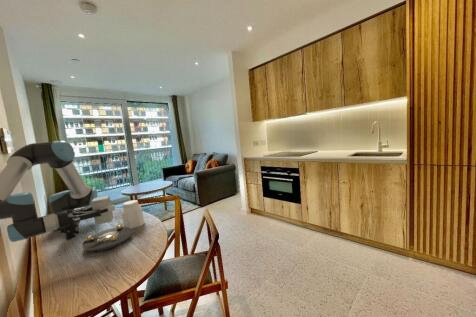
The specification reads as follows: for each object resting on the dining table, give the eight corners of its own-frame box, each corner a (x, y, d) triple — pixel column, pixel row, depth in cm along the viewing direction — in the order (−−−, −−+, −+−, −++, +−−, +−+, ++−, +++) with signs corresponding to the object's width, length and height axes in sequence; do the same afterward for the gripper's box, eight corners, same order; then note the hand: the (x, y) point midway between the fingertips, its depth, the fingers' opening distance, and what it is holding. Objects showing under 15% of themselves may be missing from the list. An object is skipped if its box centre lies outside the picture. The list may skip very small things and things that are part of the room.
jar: (124, 230, 125) (120, 206, 123) (123, 225, 133) (119, 202, 131) (145, 224, 131) (141, 201, 129) (143, 220, 139) (139, 198, 137)
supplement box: (94, 225, 105) (90, 201, 104) (98, 220, 112) (93, 197, 110) (111, 222, 108) (107, 198, 107) (113, 217, 115) (109, 194, 113)
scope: (76, 210, 128) (74, 214, 120) (81, 231, 130) (79, 237, 122) (59, 214, 124) (56, 219, 116) (64, 236, 126) (61, 242, 117)
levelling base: (91, 238, 118) (90, 229, 118) (134, 229, 125) (133, 220, 125) (76, 259, 98) (74, 248, 97) (128, 246, 105) (127, 236, 104)
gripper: (57, 223, 105) (108, 208, 121) (61, 235, 89) (119, 216, 105) (54, 208, 104) (106, 196, 120) (57, 218, 89) (116, 202, 104)
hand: (112, 205), depth 112 cm, fingers closed on supplement box, 9 cm apart
